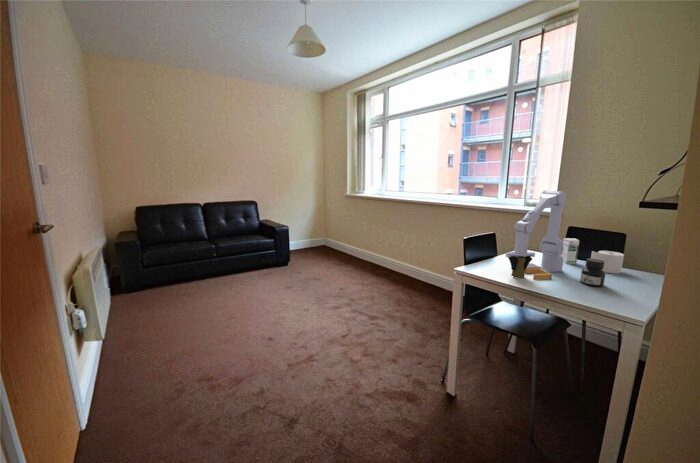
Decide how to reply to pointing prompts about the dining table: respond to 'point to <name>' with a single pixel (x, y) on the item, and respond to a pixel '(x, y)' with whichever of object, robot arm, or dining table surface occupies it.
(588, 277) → the ink bottle
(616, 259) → the toilet tissue
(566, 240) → the syrup box
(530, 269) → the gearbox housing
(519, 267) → the cork
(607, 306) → the dining table surface
